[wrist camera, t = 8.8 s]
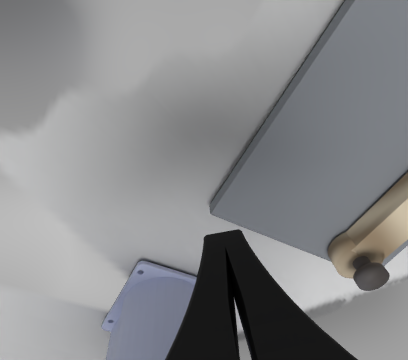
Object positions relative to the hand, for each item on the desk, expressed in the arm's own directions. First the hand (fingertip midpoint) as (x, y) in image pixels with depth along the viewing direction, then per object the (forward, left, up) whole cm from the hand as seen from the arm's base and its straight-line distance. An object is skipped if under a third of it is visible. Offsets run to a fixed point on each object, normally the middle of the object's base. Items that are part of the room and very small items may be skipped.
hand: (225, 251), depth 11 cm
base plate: (+4, -10, -9) cm, 15 cm away
